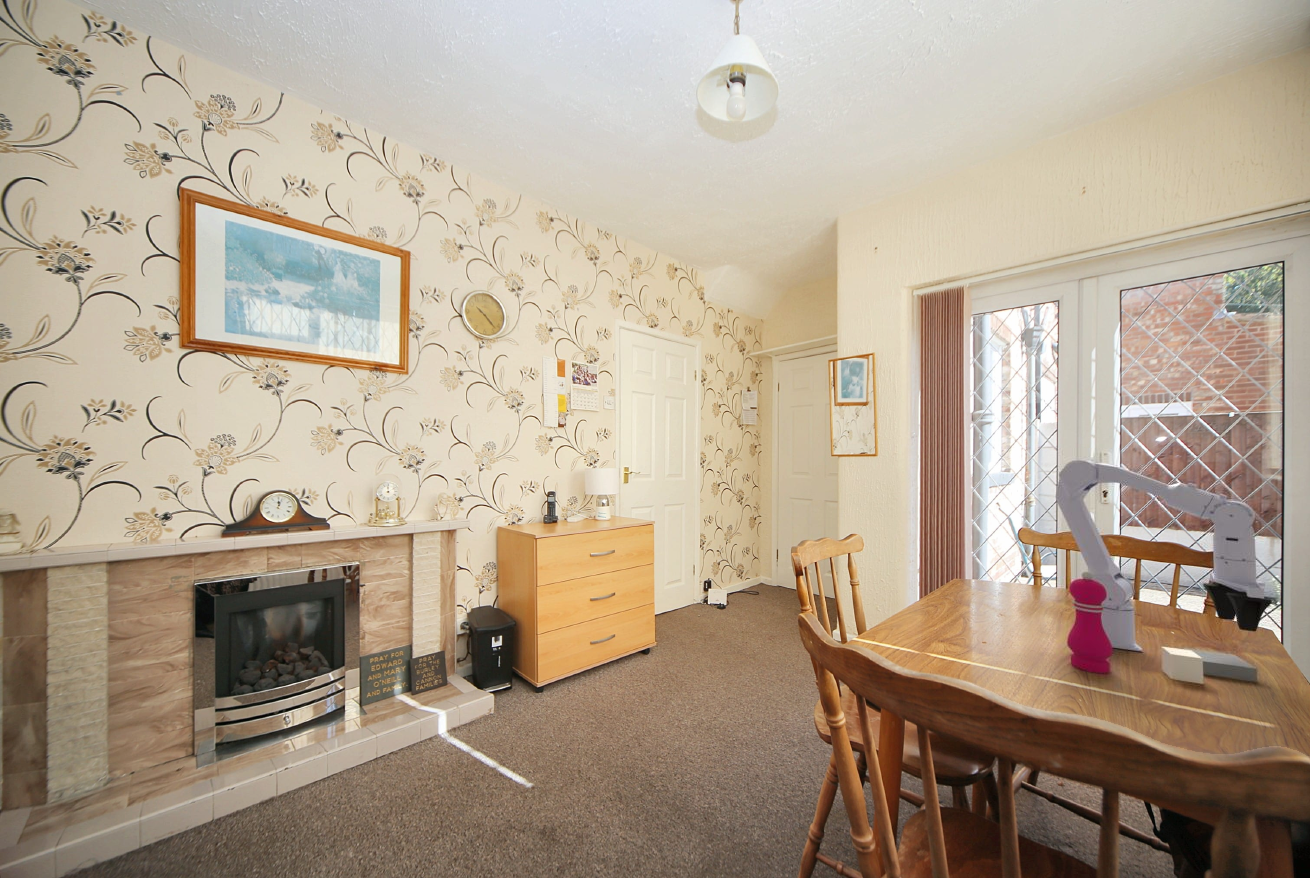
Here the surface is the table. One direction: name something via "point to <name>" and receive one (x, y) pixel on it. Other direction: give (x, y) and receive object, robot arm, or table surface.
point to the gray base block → (1226, 665)
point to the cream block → (1182, 665)
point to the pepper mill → (1089, 626)
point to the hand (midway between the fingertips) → (1236, 624)
